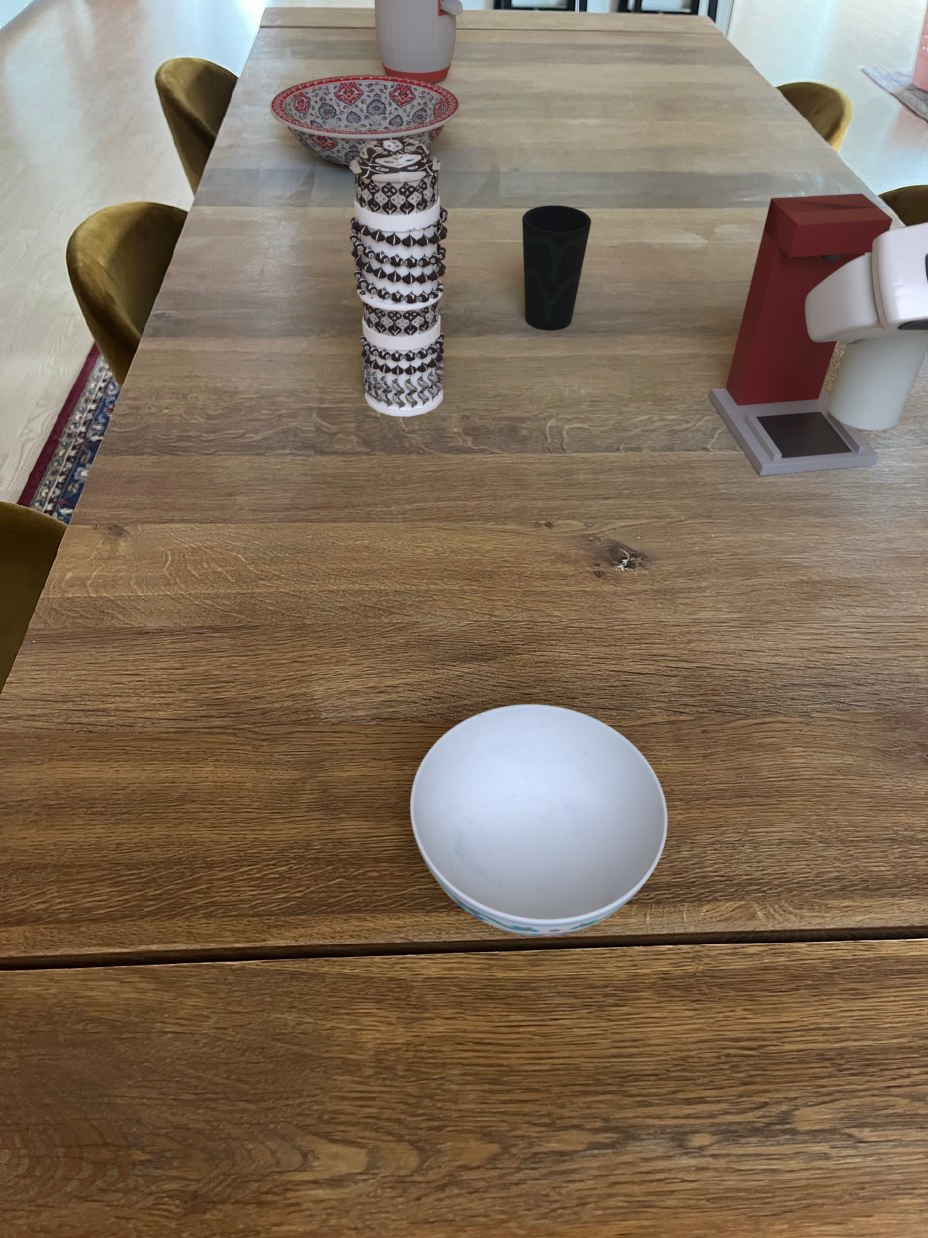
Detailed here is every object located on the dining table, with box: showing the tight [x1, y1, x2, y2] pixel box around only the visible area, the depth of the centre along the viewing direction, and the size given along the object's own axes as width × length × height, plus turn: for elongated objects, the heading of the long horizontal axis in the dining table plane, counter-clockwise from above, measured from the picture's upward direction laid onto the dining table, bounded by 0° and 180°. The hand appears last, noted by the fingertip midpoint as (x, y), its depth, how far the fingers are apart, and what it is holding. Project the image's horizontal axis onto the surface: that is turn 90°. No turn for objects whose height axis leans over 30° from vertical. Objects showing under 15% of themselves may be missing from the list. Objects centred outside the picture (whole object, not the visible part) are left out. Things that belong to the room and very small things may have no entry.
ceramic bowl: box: [269, 74, 461, 166], centre depth 148 cm, size 29×29×8 cm
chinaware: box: [409, 703, 668, 937], centre depth 58 cm, size 15×15×8 cm
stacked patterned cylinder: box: [349, 138, 449, 418], centre depth 92 cm, size 9×9×25 cm
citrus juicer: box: [374, 0, 464, 84], centre depth 174 cm, size 16×17×20 cm
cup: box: [521, 205, 592, 331], centre depth 109 cm, size 8×8×12 cm
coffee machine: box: [709, 193, 894, 477], centre depth 89 cm, size 14×12×21 cm
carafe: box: [827, 334, 928, 431], centre depth 78 cm, size 6×6×14 cm
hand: (887, 331), depth 79 cm, fingers closed on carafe, 6 cm apart
